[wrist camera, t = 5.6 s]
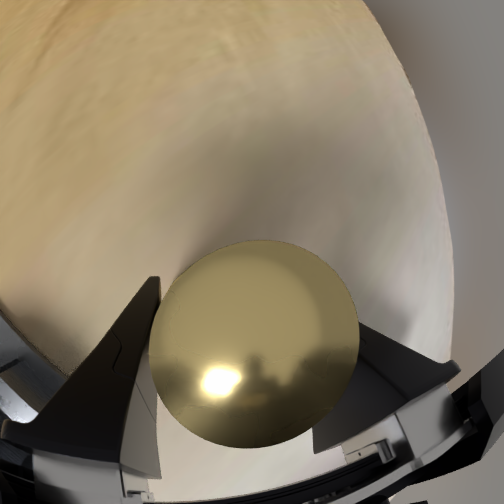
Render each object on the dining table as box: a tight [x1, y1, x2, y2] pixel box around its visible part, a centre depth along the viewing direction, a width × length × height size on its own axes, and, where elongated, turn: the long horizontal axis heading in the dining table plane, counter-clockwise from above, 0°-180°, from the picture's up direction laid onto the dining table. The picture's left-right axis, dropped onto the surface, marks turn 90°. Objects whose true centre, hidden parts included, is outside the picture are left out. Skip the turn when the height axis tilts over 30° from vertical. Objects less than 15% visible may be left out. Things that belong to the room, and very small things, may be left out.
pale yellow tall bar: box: [149, 240, 359, 448], centre depth 11 cm, size 4×4×12 cm
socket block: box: [0, 310, 68, 470], centre depth 10 cm, size 14×14×4 cm
